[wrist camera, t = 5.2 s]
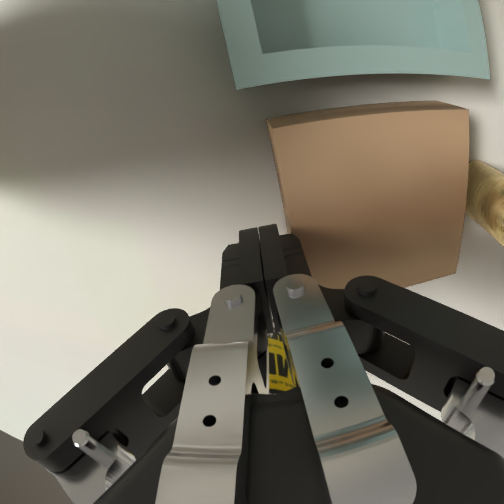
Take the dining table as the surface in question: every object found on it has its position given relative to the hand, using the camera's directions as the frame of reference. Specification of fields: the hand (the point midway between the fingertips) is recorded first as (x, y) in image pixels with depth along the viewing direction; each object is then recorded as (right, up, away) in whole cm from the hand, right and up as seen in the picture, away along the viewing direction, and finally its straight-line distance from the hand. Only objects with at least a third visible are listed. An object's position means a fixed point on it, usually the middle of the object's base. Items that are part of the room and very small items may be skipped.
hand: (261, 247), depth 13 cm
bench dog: (+11, +3, +1) cm, 12 cm away
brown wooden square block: (+5, +3, +1) cm, 6 cm away
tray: (+3, +11, -5) cm, 13 cm away
